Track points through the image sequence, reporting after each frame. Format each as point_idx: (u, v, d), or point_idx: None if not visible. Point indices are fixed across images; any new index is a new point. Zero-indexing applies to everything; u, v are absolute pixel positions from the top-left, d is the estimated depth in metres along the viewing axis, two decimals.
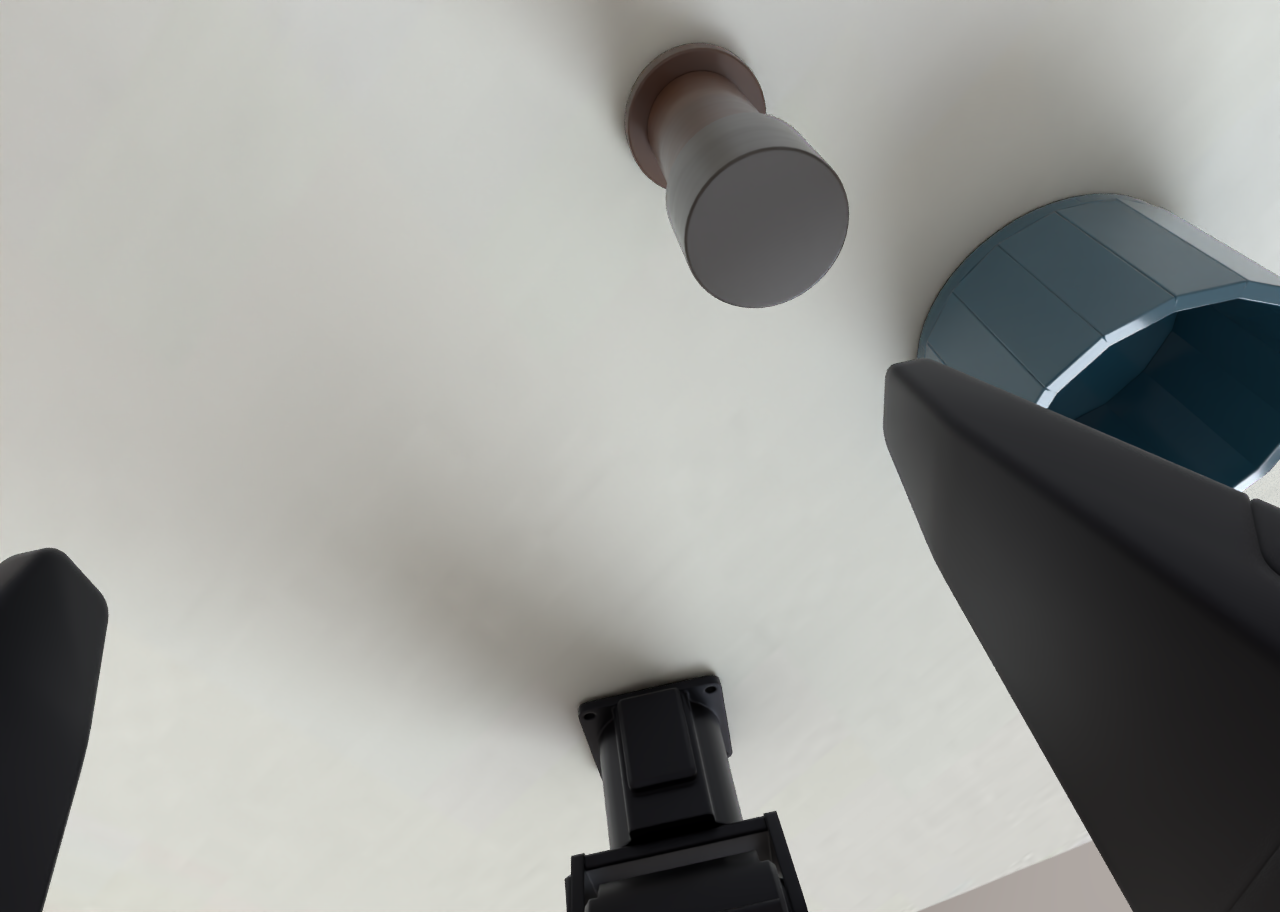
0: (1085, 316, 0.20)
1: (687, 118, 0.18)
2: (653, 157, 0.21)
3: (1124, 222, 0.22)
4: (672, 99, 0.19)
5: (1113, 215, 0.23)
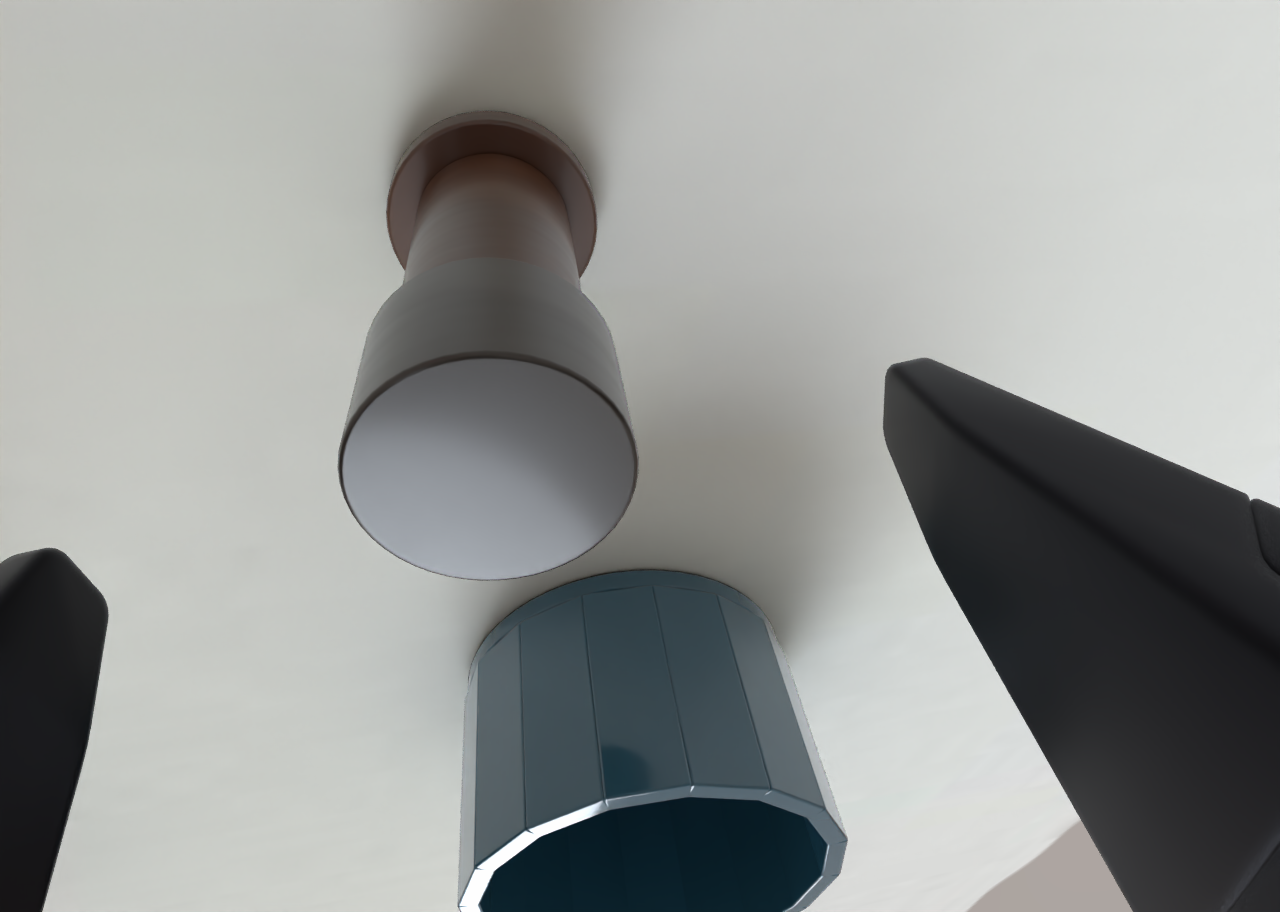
0: (687, 745, 0.17)
1: (501, 220, 0.11)
2: (413, 210, 0.14)
3: (761, 655, 0.20)
4: (497, 177, 0.12)
5: (755, 639, 0.21)
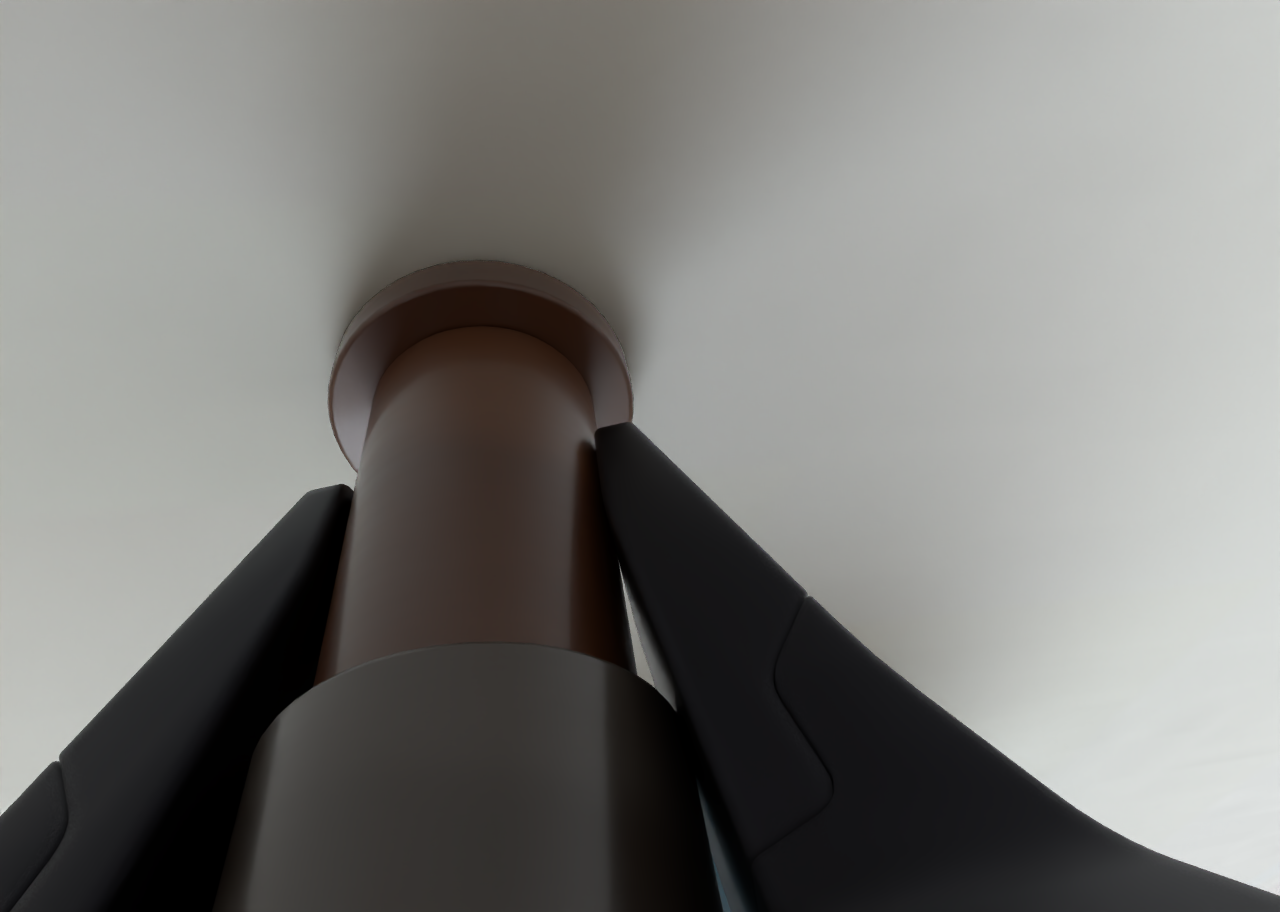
0: None
1: (493, 490, 0.07)
2: (367, 400, 0.09)
3: None
4: (488, 380, 0.08)
5: None
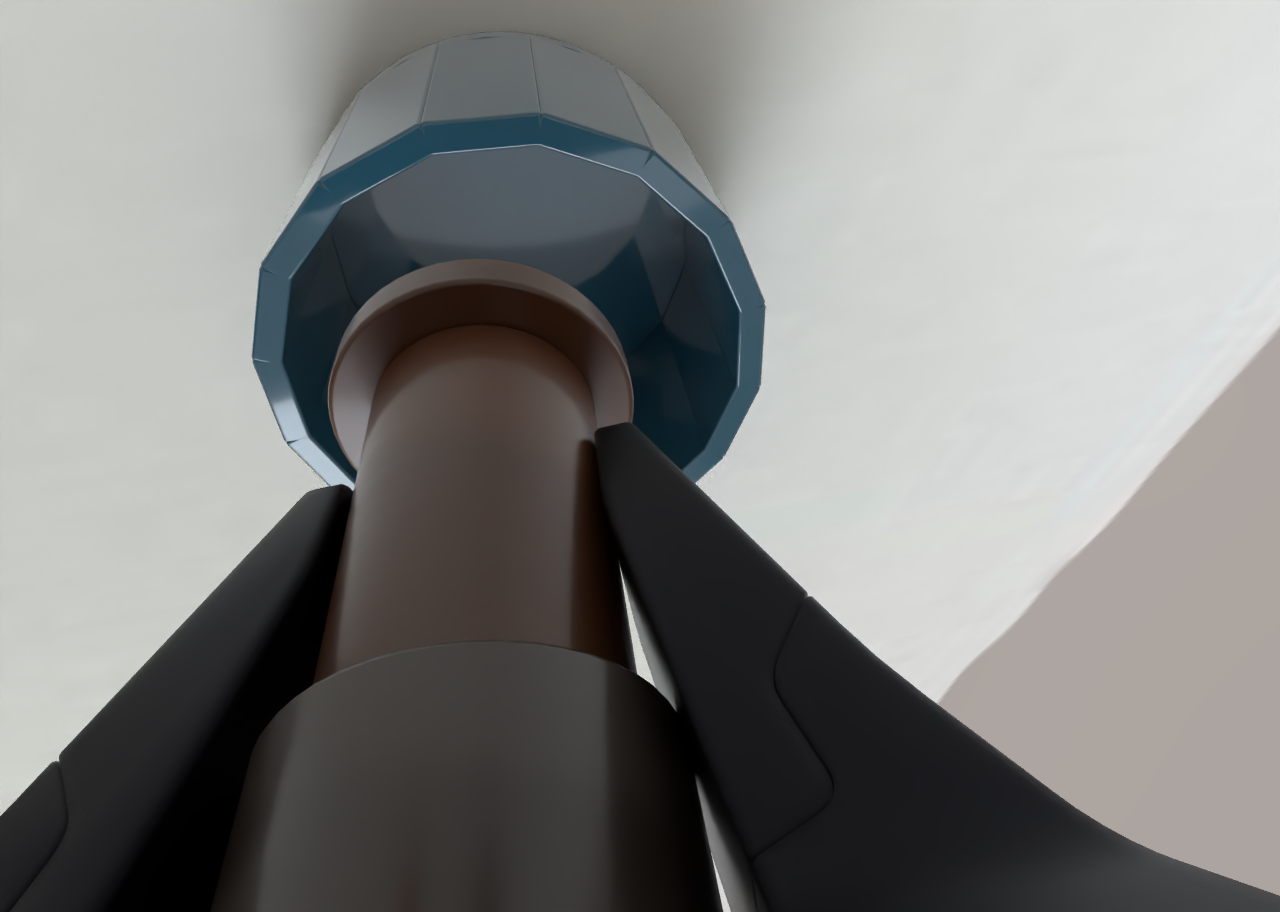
0: (543, 98, 0.13)
1: (493, 489, 0.07)
2: (367, 399, 0.09)
3: (665, 123, 0.16)
4: (488, 379, 0.08)
5: (661, 116, 0.16)
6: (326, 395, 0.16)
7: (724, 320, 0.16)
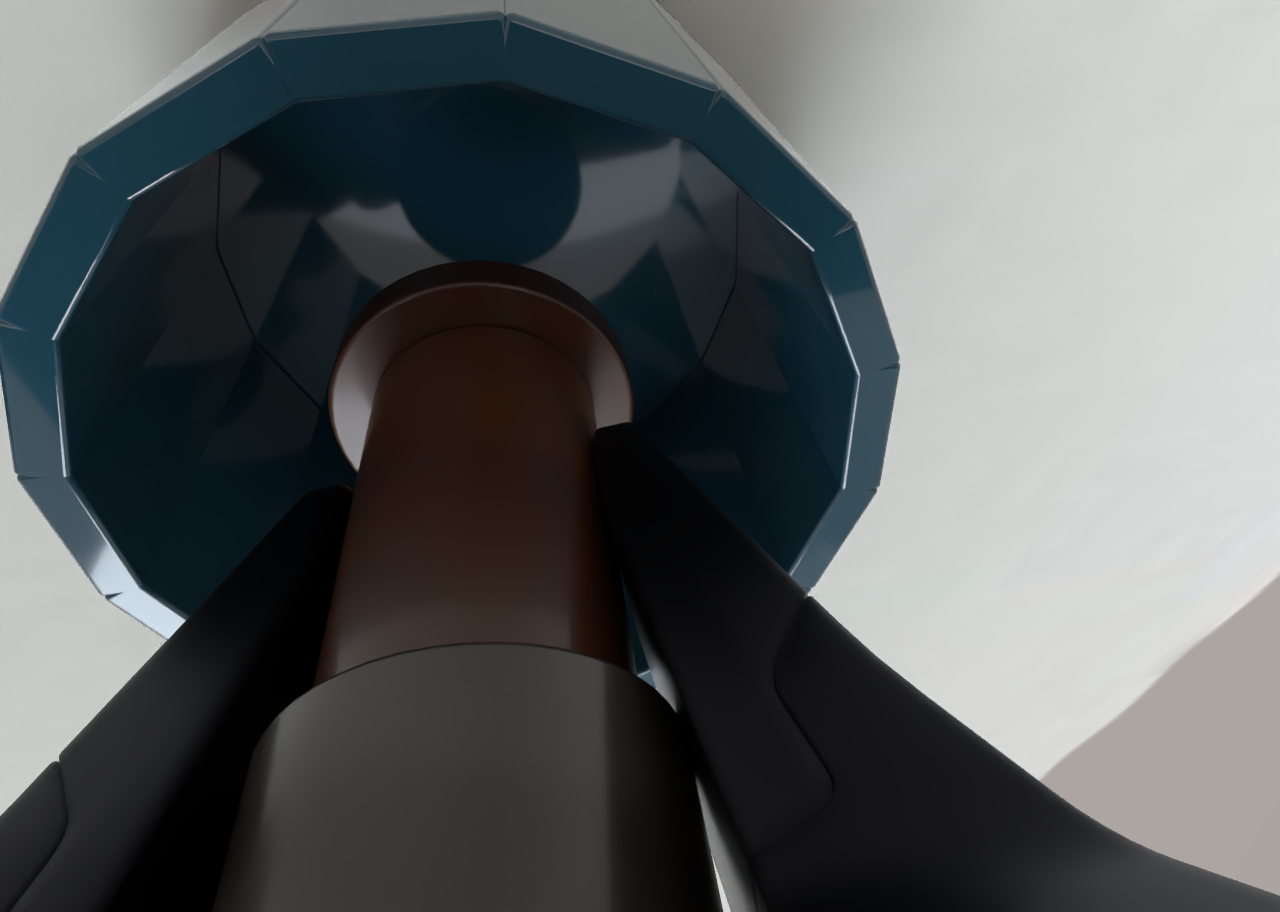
0: None
1: (494, 490, 0.07)
2: (368, 400, 0.09)
3: (718, 67, 0.10)
4: (489, 380, 0.08)
5: (710, 57, 0.10)
6: (187, 504, 0.10)
7: (817, 380, 0.10)
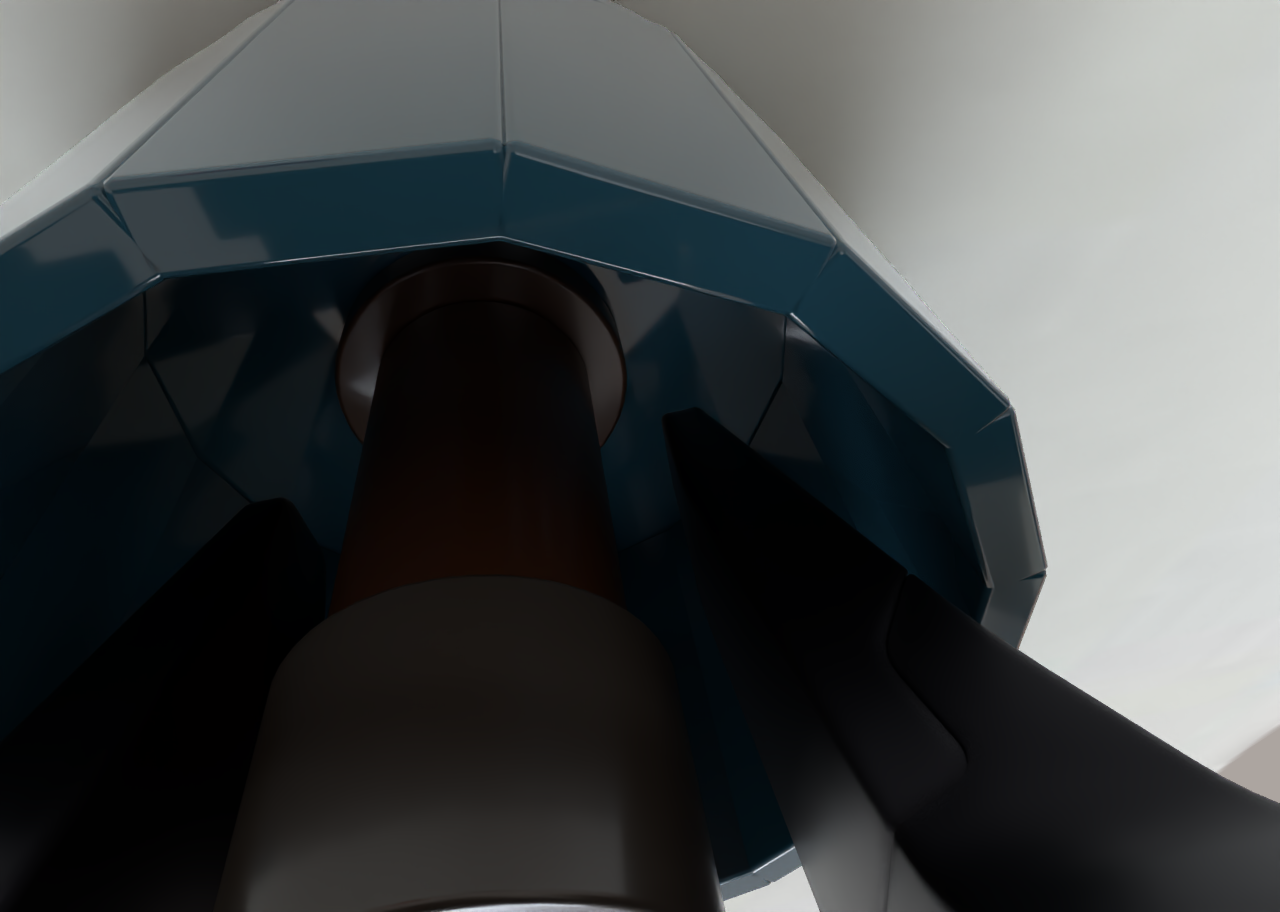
0: (516, 96, 0.04)
1: (493, 448, 0.07)
2: (372, 373, 0.10)
3: (781, 144, 0.08)
4: (488, 350, 0.08)
5: (767, 128, 0.08)
6: None
7: (912, 556, 0.08)
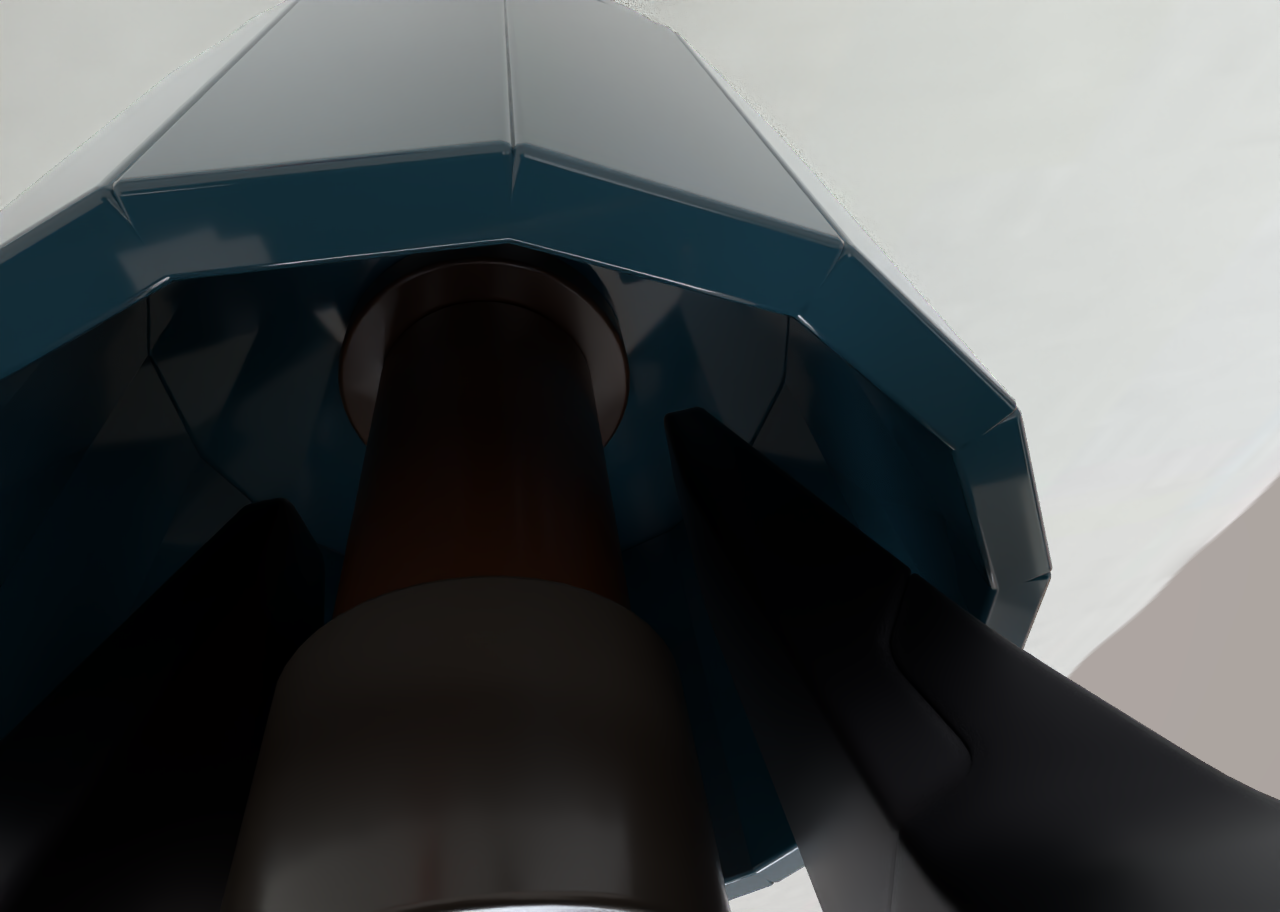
0: (524, 97, 0.04)
1: (498, 449, 0.07)
2: (376, 373, 0.10)
3: (785, 145, 0.08)
4: (492, 351, 0.08)
5: (771, 129, 0.08)
6: None
7: (916, 558, 0.08)
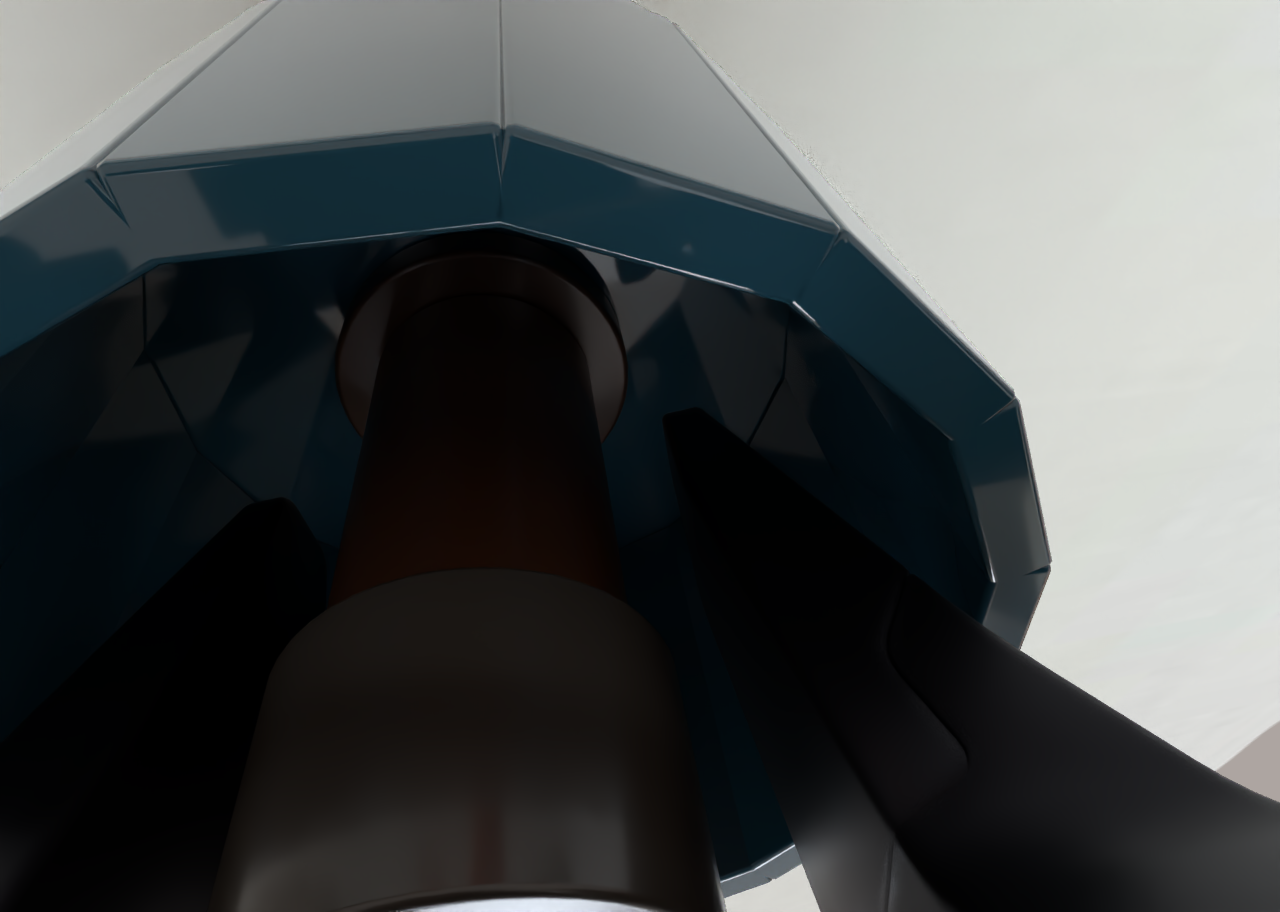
0: (516, 81, 0.04)
1: (494, 441, 0.07)
2: (373, 367, 0.10)
3: (784, 136, 0.08)
4: (489, 344, 0.08)
5: (770, 120, 0.08)
6: None
7: (915, 552, 0.07)
